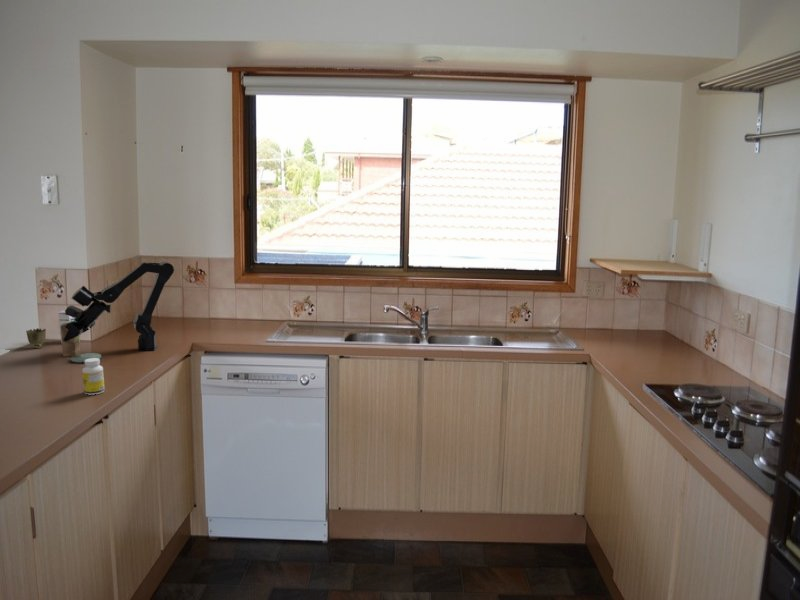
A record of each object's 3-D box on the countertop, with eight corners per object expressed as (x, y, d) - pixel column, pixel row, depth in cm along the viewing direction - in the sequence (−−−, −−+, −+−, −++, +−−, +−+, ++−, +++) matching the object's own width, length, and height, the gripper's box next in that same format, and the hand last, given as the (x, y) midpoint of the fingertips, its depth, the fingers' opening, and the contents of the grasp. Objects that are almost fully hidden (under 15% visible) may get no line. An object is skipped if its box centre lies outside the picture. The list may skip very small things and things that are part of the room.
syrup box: (72, 343, 296) (69, 311, 293) (60, 343, 297) (57, 311, 294) (80, 340, 301) (78, 309, 299) (69, 340, 302) (66, 308, 300)
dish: (105, 356, 275) (104, 352, 275) (95, 363, 265) (95, 359, 264) (77, 356, 274) (77, 353, 274) (67, 363, 264) (66, 360, 263)
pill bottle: (88, 389, 231) (85, 357, 229) (107, 389, 232) (105, 357, 230) (81, 395, 225) (78, 362, 223) (100, 395, 225) (98, 362, 223)
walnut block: (80, 352, 280) (77, 322, 278) (75, 356, 275) (73, 325, 273) (67, 353, 280) (65, 323, 277) (63, 356, 275) (60, 325, 272)
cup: (51, 346, 290) (49, 328, 289) (37, 350, 284) (35, 332, 282) (38, 345, 293) (36, 327, 291) (23, 349, 286) (22, 330, 285)
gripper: (85, 295, 283) (60, 321, 284) (68, 303, 265) (41, 330, 265) (106, 313, 285) (81, 339, 286) (90, 322, 267) (63, 349, 268)
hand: (66, 339), depth 276 cm, fingers closed on walnut block, 5 cm apart
